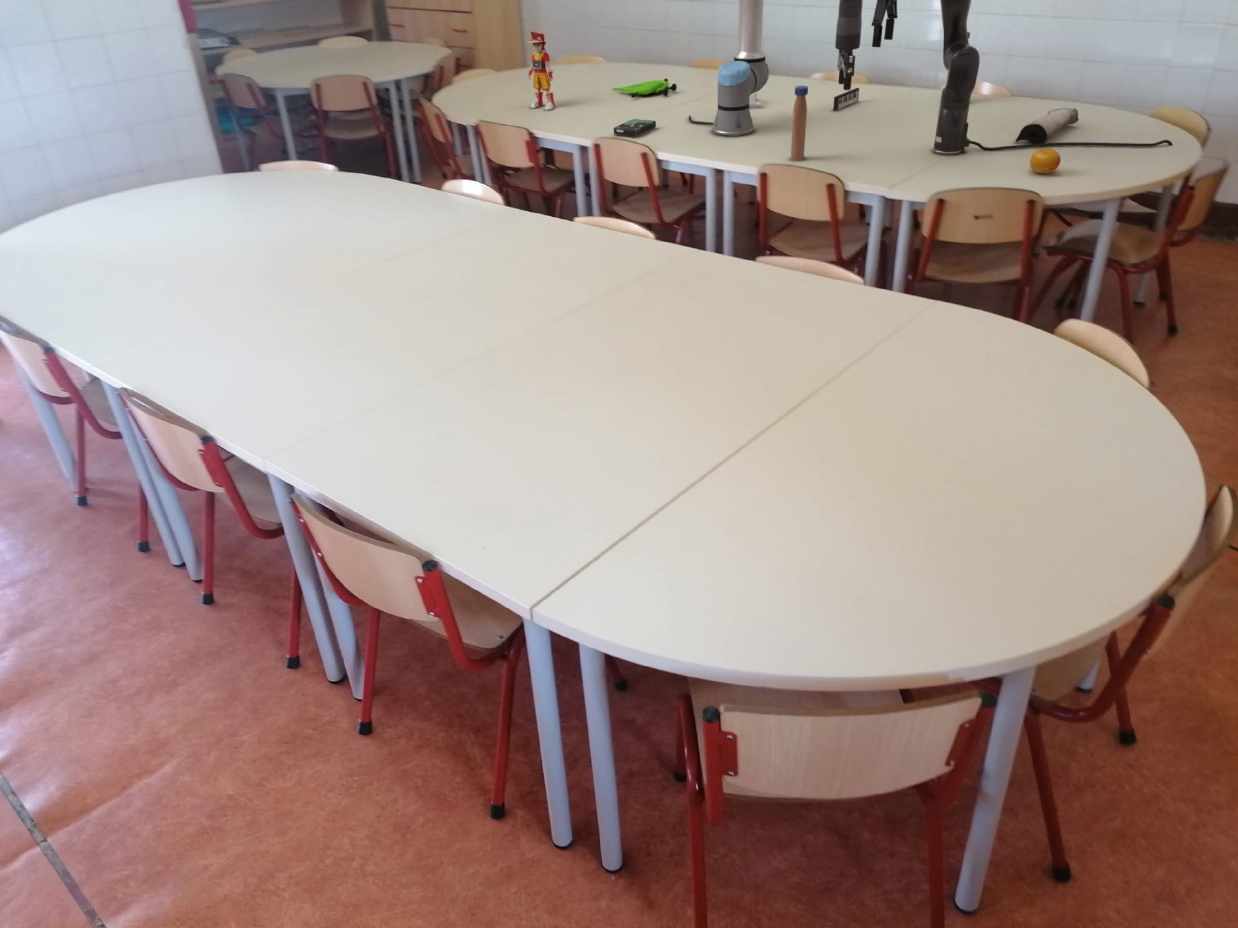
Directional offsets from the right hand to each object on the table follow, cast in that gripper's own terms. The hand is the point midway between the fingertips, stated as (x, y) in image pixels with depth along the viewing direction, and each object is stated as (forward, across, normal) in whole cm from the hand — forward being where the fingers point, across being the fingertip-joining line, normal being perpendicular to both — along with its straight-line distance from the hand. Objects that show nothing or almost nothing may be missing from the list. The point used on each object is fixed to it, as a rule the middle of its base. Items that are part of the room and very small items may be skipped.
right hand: (844, 87), depth 287 cm
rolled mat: (+24, +19, -76) cm, 81 cm away
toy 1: (+22, +95, +108) cm, 146 cm away
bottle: (+23, +4, +13) cm, 27 cm away
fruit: (+24, -22, -59) cm, 67 cm away
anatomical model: (+23, +82, +23) cm, 89 cm away
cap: (0, +4, +13) cm, 14 cm away
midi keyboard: (+24, +72, -16) cm, 77 cm away
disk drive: (+23, +49, +68) cm, 87 cm away
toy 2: (+23, +114, +66) cm, 134 cm away
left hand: (-7, +30, -18) cm, 36 cm away
